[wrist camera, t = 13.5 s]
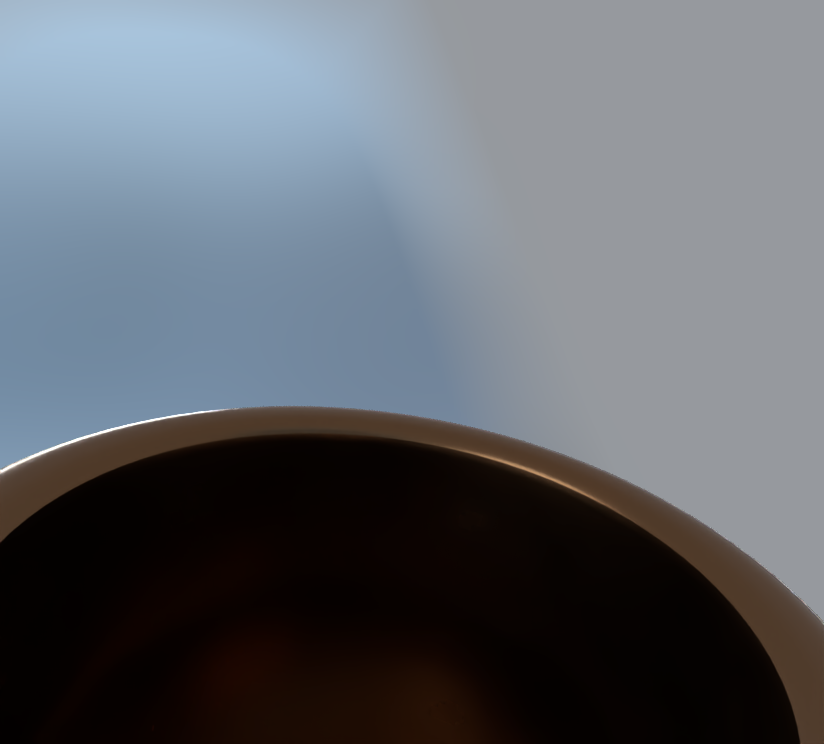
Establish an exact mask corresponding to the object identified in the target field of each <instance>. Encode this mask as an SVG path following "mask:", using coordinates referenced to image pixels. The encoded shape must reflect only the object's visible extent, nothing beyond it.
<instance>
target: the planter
mask: <svg viewBox="0 0 824 744" xmlns="http://www.w3.org/2000/svg"><path fill="white" fill-rule="evenodd" d="M0 744H824V622H823V621H822V620H821V619H820V617H819V616H818V615H817V614H815V613H814V612H813V610H812V609H810V607H809V606H807V605H806V603H805V602H803V600H801V598H799V597H798V596H797V595H796V594H795V593H794V592H793V591H792V590H791V589H789V588H788V587H787V586H786V585H785V584H784V583H783V582H782V581H781V580H779V579H778V578H777V577H776V576H775V575H773V574H772V573H771V572H770V571H769V570H767V569H766V568H765V567H764V566H762V565H761V564H760V563H759V562H758V561H756V560H755V559H754V558H752V557H751V556H749V554H747V553H746V552H745V551H743V550H742V549H740V548H739V547H738V546H737V545H735V544H734V543H732V542H731V541H729V540H728V539H726V538H725V537H724V536H722V535H720V534H719V533H718V532H716V531H715V530H713V529H712V528H710V527H709V526H707V525H705V524H704V523H702V522H701V521H699V520H698V519H696V518H694V517H693V516H691V515H690V514H688V513H686V512H684V511H682V510H681V509H679V508H677V507H676V506H674V505H672V504H671V503H669V502H667V501H665V500H663V499H661V498H659V497H658V496H656V495H654V494H652V493H650V492H648V491H646V490H644V489H642V488H640V487H638V486H636V485H634V484H632V483H630V482H628V481H626V480H624V479H621V478H619V477H617V476H615V475H613V474H610V473H608V472H606V471H604V470H601V469H599V468H596V467H594V466H592V465H589V464H587V463H585V462H582V461H579V460H576V459H574V458H572V457H569V456H566V455H564V454H561V453H558V452H555V451H552V450H549V449H547V448H544V447H541V446H538V445H534V444H531V443H528V442H525V441H522V440H518V439H515V438H512V437H507V436H505V435H501V434H497V433H493V432H490V431H486V430H482V429H478V428H473V427H469V426H465V425H460V424H456V423H451V422H446V421H441V420H435V419H430V418H424V417H418V416H412V415H405V414H398V413H390V412H382V411H373V410H363V409H351V408H350V409H349V408H336V407H313V406H276V407H275V406H271V407H249V408H248V407H247V408H233V409H221V410H212V411H203V412H195V413H188V414H181V415H174V416H169V417H163V418H157V419H151V420H147V421H142V422H137V423H133V424H128V425H124V426H120V427H116V428H112V429H108V430H104V431H101V432H97V433H94V434H90V435H87V436H83V437H80V438H77V439H74V440H72V441H68V442H65V443H62V444H59V445H56V446H54V447H51V448H49V449H46V450H43V451H41V452H38V453H36V454H33V455H31V456H28V457H26V458H24V459H21V460H19V461H17V462H15V463H13V464H10V465H8V466H6V467H3V468H1V469H0Z"/></svg>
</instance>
